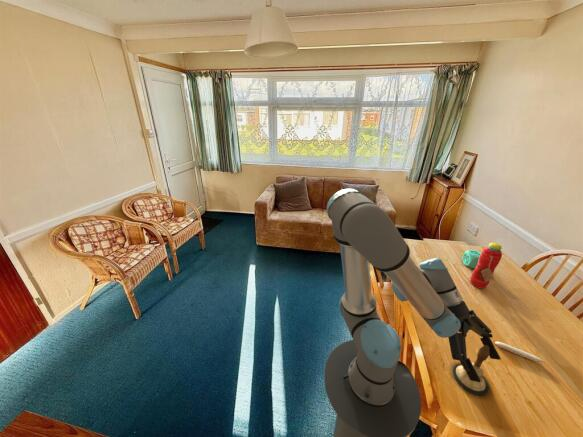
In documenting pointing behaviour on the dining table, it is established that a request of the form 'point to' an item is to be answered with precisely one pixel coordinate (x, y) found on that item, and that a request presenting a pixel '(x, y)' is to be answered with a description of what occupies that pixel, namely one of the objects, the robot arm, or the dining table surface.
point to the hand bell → (465, 379)
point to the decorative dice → (471, 258)
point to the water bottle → (486, 265)
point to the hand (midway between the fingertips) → (486, 369)
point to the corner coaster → (469, 388)
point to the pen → (518, 351)
